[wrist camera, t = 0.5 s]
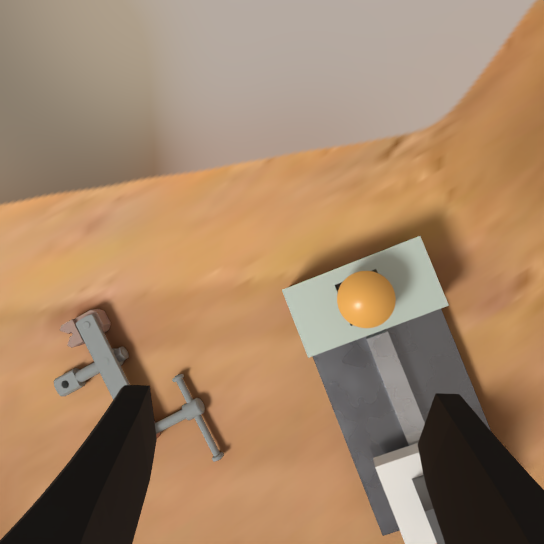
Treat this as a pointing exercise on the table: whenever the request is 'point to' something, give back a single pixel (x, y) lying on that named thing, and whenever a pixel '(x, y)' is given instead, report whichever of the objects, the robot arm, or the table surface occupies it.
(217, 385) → the table surface
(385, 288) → the plunger
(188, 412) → the clamp
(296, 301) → the end cabinet
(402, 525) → the carriage
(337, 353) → the rail
